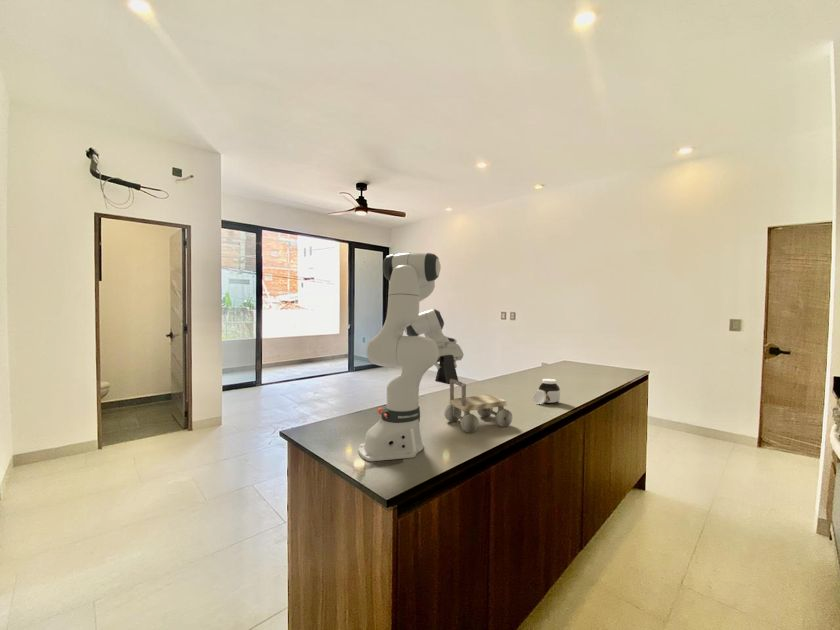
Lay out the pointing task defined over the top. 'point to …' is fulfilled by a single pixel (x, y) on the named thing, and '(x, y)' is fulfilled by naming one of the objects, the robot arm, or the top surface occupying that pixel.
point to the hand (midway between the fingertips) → (447, 367)
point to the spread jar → (547, 392)
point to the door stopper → (446, 370)
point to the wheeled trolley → (478, 403)
